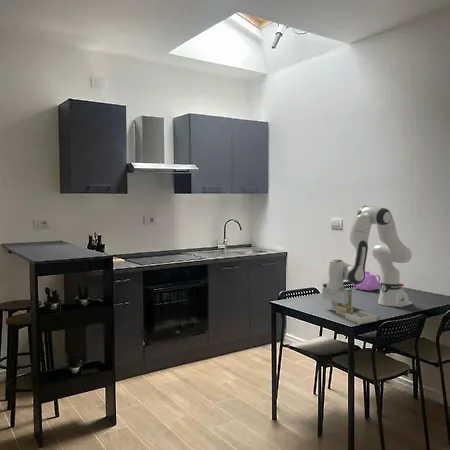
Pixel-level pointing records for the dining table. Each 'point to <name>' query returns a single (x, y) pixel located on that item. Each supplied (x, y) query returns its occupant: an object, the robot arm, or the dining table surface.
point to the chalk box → (348, 296)
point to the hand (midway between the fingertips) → (334, 308)
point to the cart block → (344, 309)
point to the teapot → (369, 282)
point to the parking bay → (361, 317)
